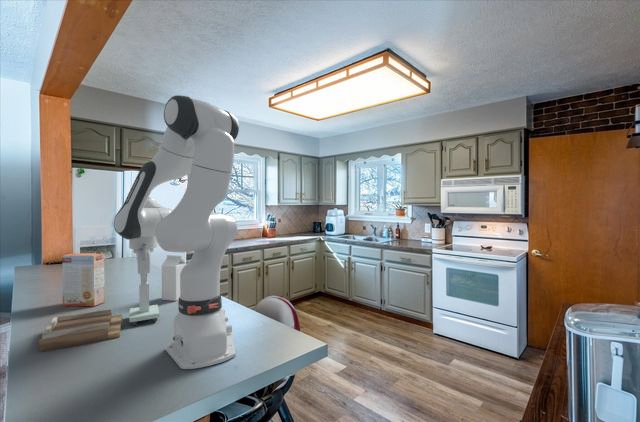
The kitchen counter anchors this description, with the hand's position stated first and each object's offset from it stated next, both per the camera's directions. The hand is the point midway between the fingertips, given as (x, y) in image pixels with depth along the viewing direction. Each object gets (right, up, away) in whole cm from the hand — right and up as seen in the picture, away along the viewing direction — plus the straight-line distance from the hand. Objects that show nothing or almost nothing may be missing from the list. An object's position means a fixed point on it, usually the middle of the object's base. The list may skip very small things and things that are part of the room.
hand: (143, 280), depth 111 cm
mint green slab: (0, -14, 0) cm, 14 cm away
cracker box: (-34, -14, +17) cm, 40 cm away
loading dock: (-12, -14, -12) cm, 22 cm away
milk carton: (-1, -14, +25) cm, 29 cm away
